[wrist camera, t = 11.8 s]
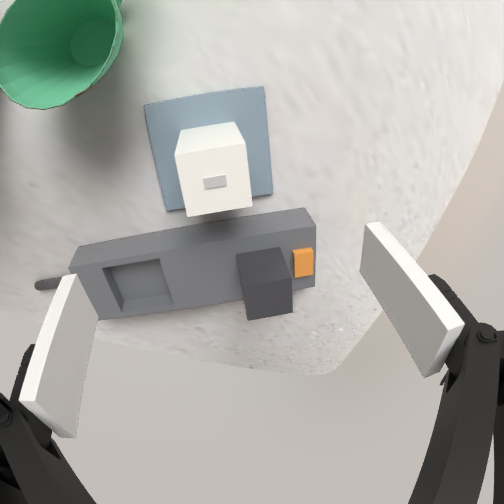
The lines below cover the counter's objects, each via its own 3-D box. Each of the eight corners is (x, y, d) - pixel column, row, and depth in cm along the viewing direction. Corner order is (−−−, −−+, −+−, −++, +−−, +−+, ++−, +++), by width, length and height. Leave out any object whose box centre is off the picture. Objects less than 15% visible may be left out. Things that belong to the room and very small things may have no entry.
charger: (189, 179, 31) (187, 218, 24) (180, 130, 28) (174, 155, 21) (240, 170, 31) (253, 207, 24) (234, 121, 28) (246, 143, 22)
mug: (119, 104, 26) (84, 126, 18) (35, 78, 22) (-23, 94, 14) (188, -32, 19) (184, -71, 11) (97, -55, 16) (59, -90, 8)
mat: (167, 208, 33) (166, 210, 32) (144, 105, 26) (143, 105, 26) (271, 191, 33) (273, 193, 33) (262, 86, 27) (264, 86, 27)
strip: (49, 305, 37) (30, 356, 30) (23, 258, 33) (-5, 307, 25) (305, 265, 40) (328, 317, 32) (304, 207, 35) (333, 254, 28)
